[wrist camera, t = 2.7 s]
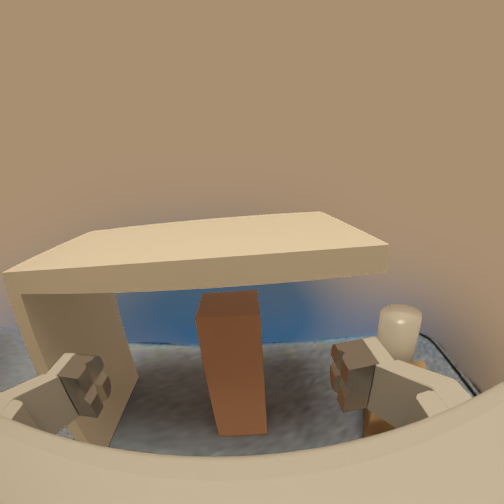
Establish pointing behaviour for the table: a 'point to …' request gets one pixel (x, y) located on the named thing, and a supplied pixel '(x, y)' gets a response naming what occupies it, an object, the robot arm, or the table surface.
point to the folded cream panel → (166, 283)
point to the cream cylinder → (399, 330)
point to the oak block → (374, 422)
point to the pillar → (233, 361)
